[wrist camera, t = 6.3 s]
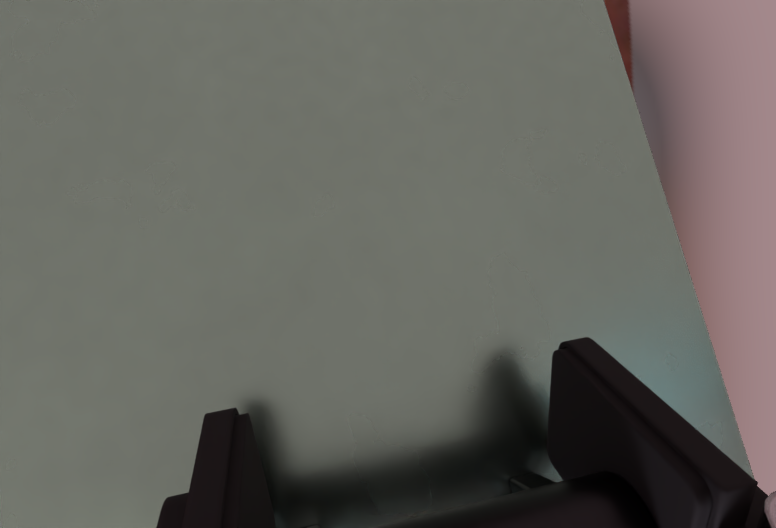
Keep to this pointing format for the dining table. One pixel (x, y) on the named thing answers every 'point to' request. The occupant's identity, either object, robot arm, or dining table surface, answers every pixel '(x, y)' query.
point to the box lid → (327, 257)
